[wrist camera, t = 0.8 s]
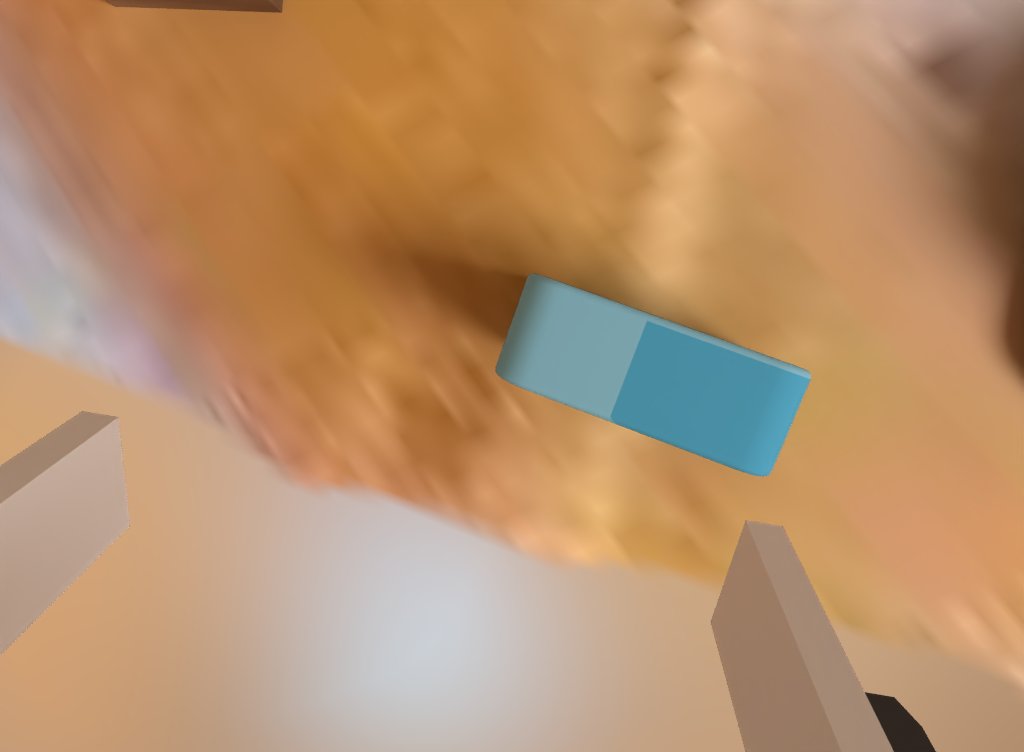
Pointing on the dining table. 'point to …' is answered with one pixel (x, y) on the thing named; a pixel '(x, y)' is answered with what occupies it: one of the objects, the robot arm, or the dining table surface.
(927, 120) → the dining table surface
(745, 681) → the robot arm
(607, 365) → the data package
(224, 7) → the walnut block
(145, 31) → the dining table surface
